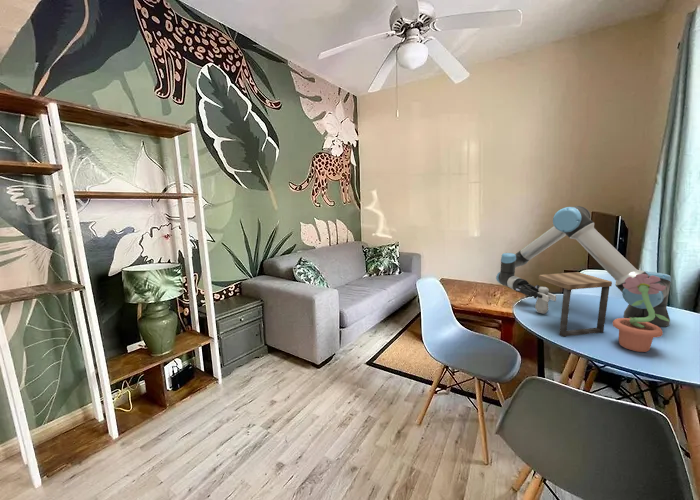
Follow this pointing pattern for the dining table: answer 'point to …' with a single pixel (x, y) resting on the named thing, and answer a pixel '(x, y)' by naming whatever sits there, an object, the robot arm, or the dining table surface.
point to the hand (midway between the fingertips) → (551, 298)
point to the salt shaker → (542, 301)
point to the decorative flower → (639, 330)
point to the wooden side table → (569, 283)
